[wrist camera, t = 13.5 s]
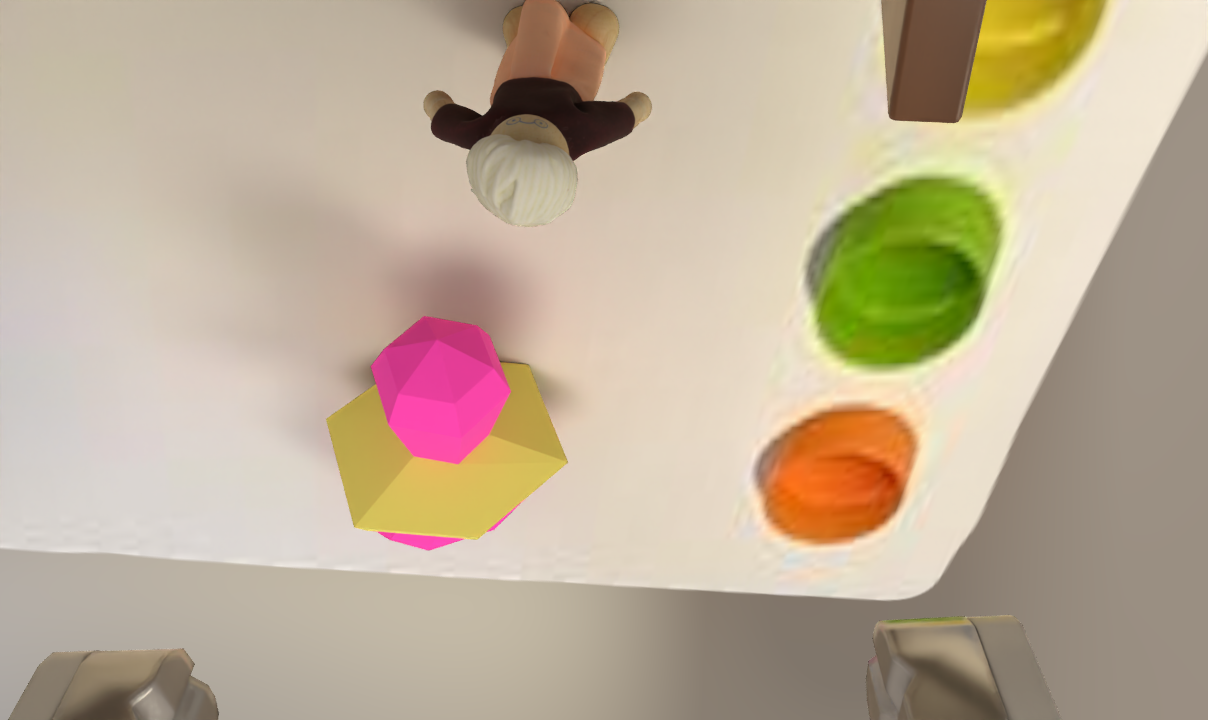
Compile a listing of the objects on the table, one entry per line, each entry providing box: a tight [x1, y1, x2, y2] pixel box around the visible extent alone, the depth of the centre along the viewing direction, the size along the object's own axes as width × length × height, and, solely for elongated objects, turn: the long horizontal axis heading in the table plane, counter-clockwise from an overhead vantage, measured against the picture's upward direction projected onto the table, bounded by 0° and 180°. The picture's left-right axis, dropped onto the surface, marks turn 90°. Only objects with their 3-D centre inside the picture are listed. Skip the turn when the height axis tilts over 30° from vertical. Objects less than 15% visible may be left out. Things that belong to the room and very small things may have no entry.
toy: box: [326, 316, 568, 550], centre depth 44 cm, size 10×18×10 cm
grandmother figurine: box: [424, 0, 652, 227], centre depth 31 cm, size 8×4×13 cm, turn 101°
